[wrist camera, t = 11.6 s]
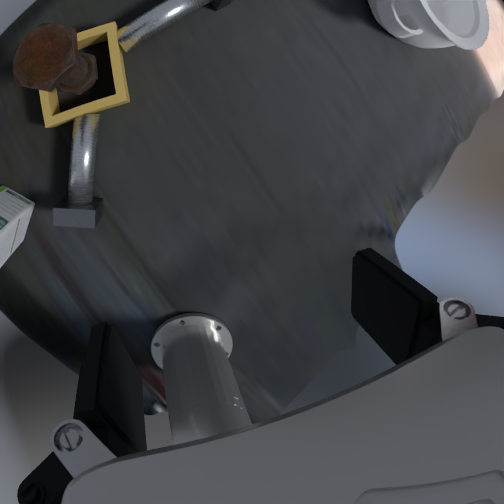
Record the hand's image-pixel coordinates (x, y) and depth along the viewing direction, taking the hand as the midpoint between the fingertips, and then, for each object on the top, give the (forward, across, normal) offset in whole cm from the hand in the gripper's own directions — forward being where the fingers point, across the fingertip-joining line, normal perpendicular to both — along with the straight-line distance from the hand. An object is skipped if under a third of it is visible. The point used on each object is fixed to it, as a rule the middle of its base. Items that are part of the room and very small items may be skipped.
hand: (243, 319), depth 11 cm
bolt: (+28, +9, -15) cm, 33 cm away
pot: (+29, -36, -23) cm, 51 cm away
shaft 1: (+28, +11, -6) cm, 31 cm away
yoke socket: (+28, +9, -15) cm, 33 cm away
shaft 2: (+28, -1, -20) cm, 35 cm away
